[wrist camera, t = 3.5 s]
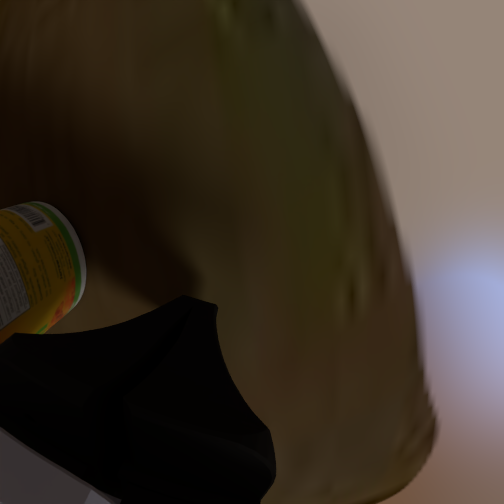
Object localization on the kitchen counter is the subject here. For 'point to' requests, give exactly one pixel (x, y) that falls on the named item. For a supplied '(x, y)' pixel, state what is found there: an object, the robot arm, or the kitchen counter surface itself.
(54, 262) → the supplement bottle
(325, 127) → the kitchen counter surface
